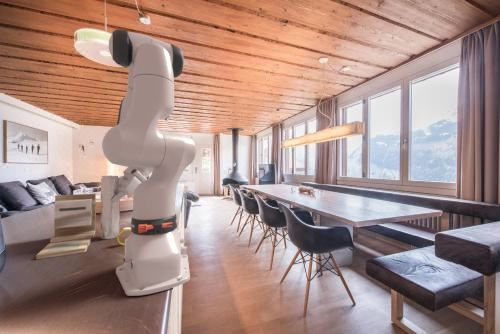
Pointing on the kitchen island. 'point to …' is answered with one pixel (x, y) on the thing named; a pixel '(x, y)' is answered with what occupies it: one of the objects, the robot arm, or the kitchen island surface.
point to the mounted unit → (74, 217)
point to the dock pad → (64, 248)
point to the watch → (121, 232)
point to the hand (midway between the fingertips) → (108, 200)
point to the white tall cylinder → (110, 207)
